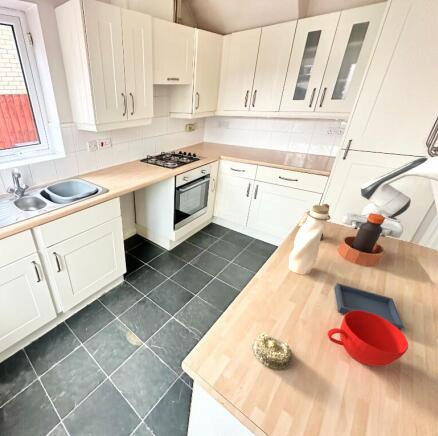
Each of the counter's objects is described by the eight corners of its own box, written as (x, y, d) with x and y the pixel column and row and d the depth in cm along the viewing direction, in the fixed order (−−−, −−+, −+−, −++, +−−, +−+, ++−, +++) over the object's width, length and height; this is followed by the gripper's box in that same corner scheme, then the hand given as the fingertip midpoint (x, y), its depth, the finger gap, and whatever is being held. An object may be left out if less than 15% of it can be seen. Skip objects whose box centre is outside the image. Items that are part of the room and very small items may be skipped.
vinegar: (368, 256, 106) (389, 216, 97) (365, 263, 102) (387, 222, 93) (349, 249, 111) (368, 210, 101) (346, 256, 107) (365, 216, 97)
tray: (388, 303, 83) (392, 298, 82) (400, 332, 74) (404, 326, 73) (334, 288, 90) (336, 282, 89) (338, 312, 81) (341, 307, 79)
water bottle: (279, 262, 103) (297, 203, 90) (294, 258, 106) (314, 199, 93) (300, 278, 95) (323, 215, 82) (316, 272, 98) (341, 211, 84)
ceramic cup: (309, 329, 75) (319, 307, 70) (368, 334, 73) (383, 311, 69) (332, 372, 64) (347, 349, 59) (403, 379, 62) (423, 356, 57)
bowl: (374, 252, 109) (380, 241, 106) (381, 270, 98) (388, 258, 95) (336, 243, 115) (341, 233, 112) (340, 260, 104) (345, 248, 101)
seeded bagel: (289, 379, 63) (294, 368, 60) (248, 360, 68) (251, 349, 65) (292, 346, 70) (297, 335, 67) (255, 331, 75) (258, 320, 72)
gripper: (347, 207, 118) (342, 217, 109) (405, 220, 105) (404, 233, 96) (342, 218, 121) (337, 229, 112) (398, 233, 108) (397, 246, 99)
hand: (369, 231), depth 104 cm, fingers open, 8 cm apart
